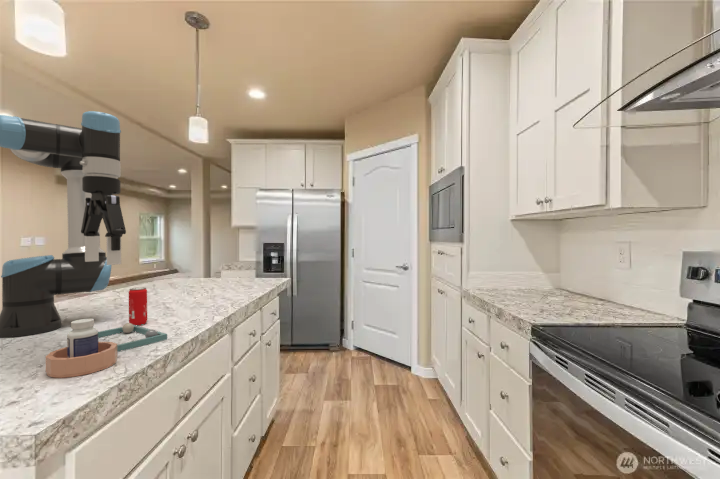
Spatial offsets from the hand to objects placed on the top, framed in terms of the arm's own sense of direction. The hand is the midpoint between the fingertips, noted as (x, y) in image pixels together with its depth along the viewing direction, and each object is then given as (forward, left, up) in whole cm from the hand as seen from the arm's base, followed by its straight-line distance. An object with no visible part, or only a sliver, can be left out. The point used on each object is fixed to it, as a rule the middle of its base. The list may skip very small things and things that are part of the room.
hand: (102, 263), depth 84 cm
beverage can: (-25, +19, -23) cm, 39 cm away
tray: (-9, +7, -23) cm, 25 cm away
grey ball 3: (-2, +12, -23) cm, 26 cm away
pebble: (-16, +12, -23) cm, 30 cm away
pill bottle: (+6, -6, -22) cm, 24 cm away
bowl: (+6, -6, -23) cm, 24 cm away
